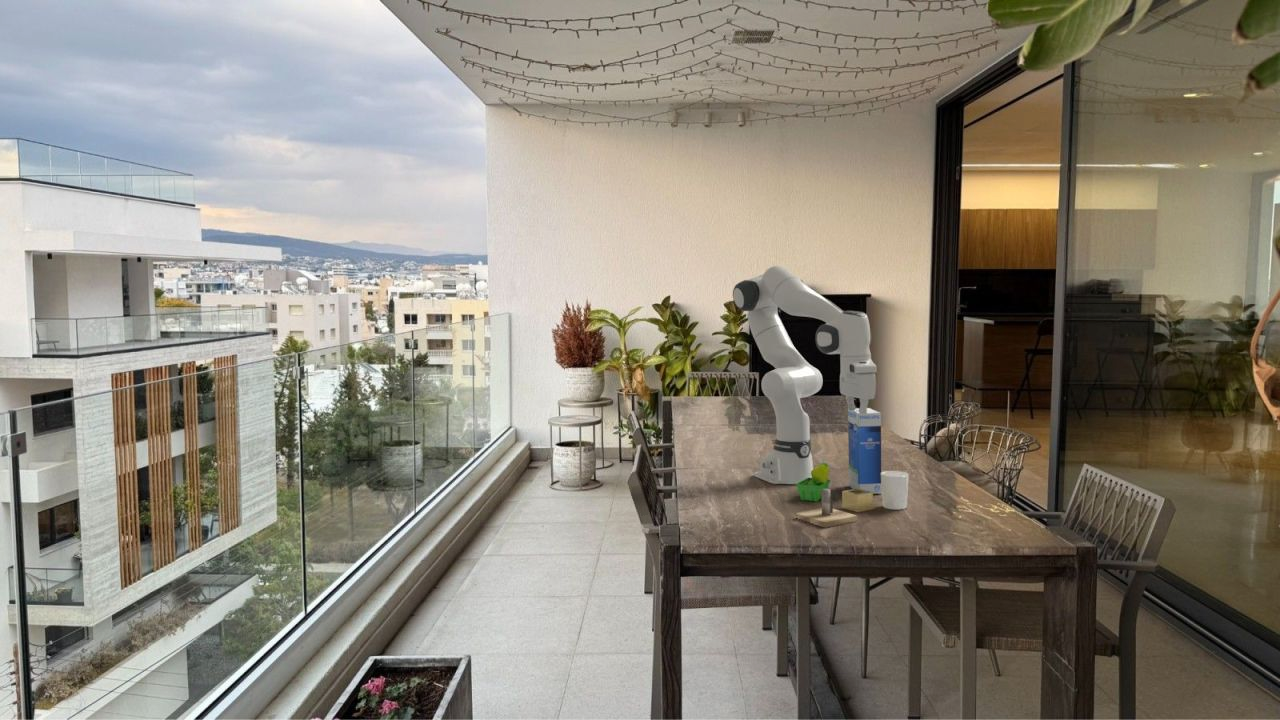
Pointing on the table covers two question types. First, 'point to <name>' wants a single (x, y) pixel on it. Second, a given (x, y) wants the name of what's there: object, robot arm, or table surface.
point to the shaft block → (826, 513)
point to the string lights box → (865, 450)
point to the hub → (857, 500)
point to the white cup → (894, 489)
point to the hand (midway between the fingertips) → (857, 412)
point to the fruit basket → (814, 483)
